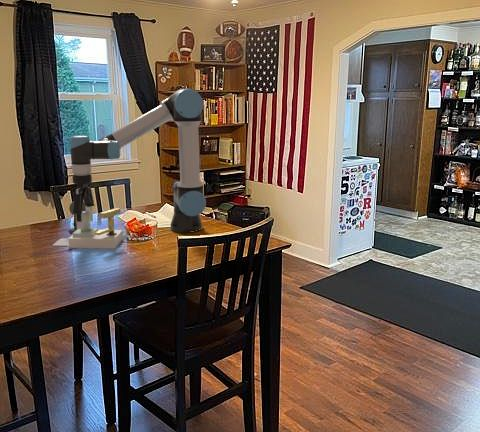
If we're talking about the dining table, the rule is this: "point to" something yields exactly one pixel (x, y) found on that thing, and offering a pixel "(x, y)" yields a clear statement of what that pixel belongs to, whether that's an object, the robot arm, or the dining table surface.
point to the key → (109, 220)
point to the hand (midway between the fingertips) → (85, 224)
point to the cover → (85, 227)
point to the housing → (97, 240)
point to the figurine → (75, 216)
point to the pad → (62, 242)
